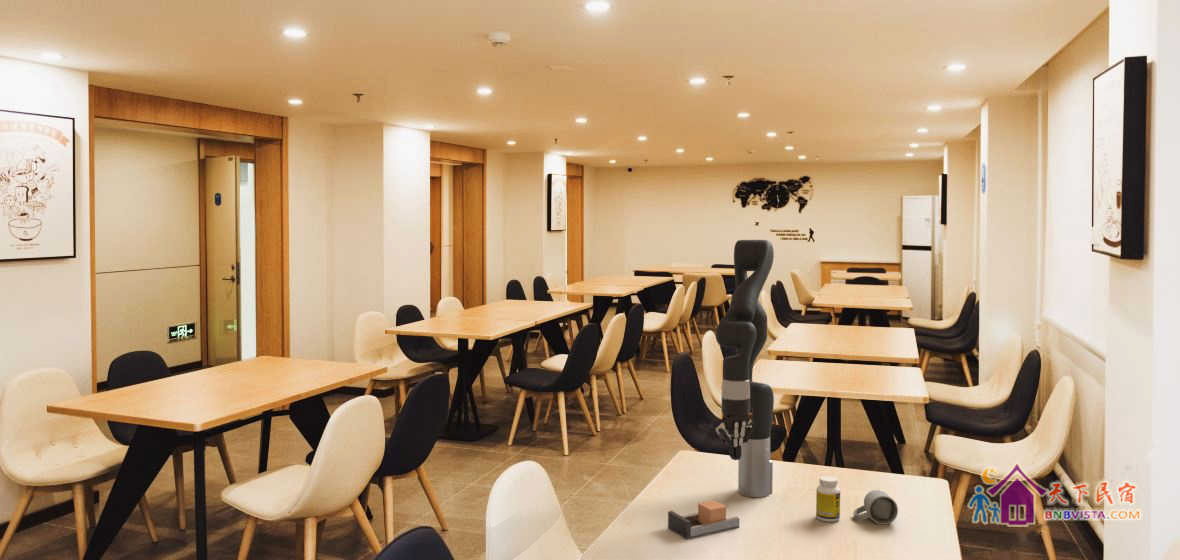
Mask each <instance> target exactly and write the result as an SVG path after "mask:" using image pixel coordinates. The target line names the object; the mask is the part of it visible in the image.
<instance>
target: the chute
mask: <svg viewBox="0 0 1180 560" xmlns="http://www.w3.org/2000/svg"><path fill="white" fill-rule="evenodd" d="M738 528H740V517H738V516H733V517H729V518H726V519H724V520H719V521H715V522H711V523H706V524H701V523H700V522H698V512H694V513H691V514H685V515H680V514H678V513H676V512H675V511H673V510H670V511H668V512H667V529H669V530H670V531H672V532H673V533H674V534H677V535H679V536H680V537H682V538H684V540H691V539H695V538H701V537H704V536H708V535H712V534H717V533H721V532H724V531H725V532H727V531H730V530H734V529H738Z"/></svg>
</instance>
